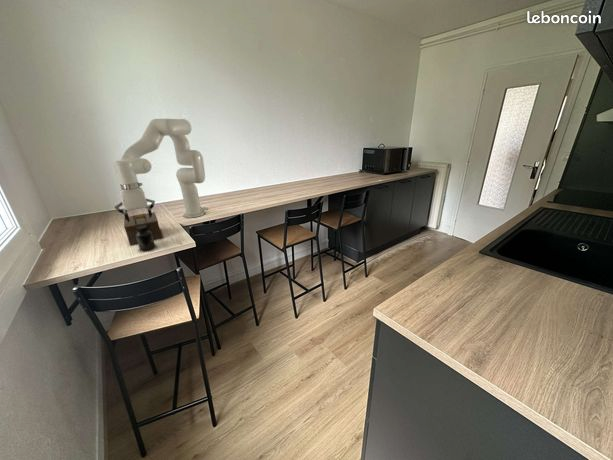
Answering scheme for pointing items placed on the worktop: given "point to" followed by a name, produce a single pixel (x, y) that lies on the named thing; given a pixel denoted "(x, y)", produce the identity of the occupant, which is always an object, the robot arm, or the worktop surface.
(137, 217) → the lid
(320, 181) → the worktop surface
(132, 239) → the walnut box
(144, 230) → the supplement bottle
